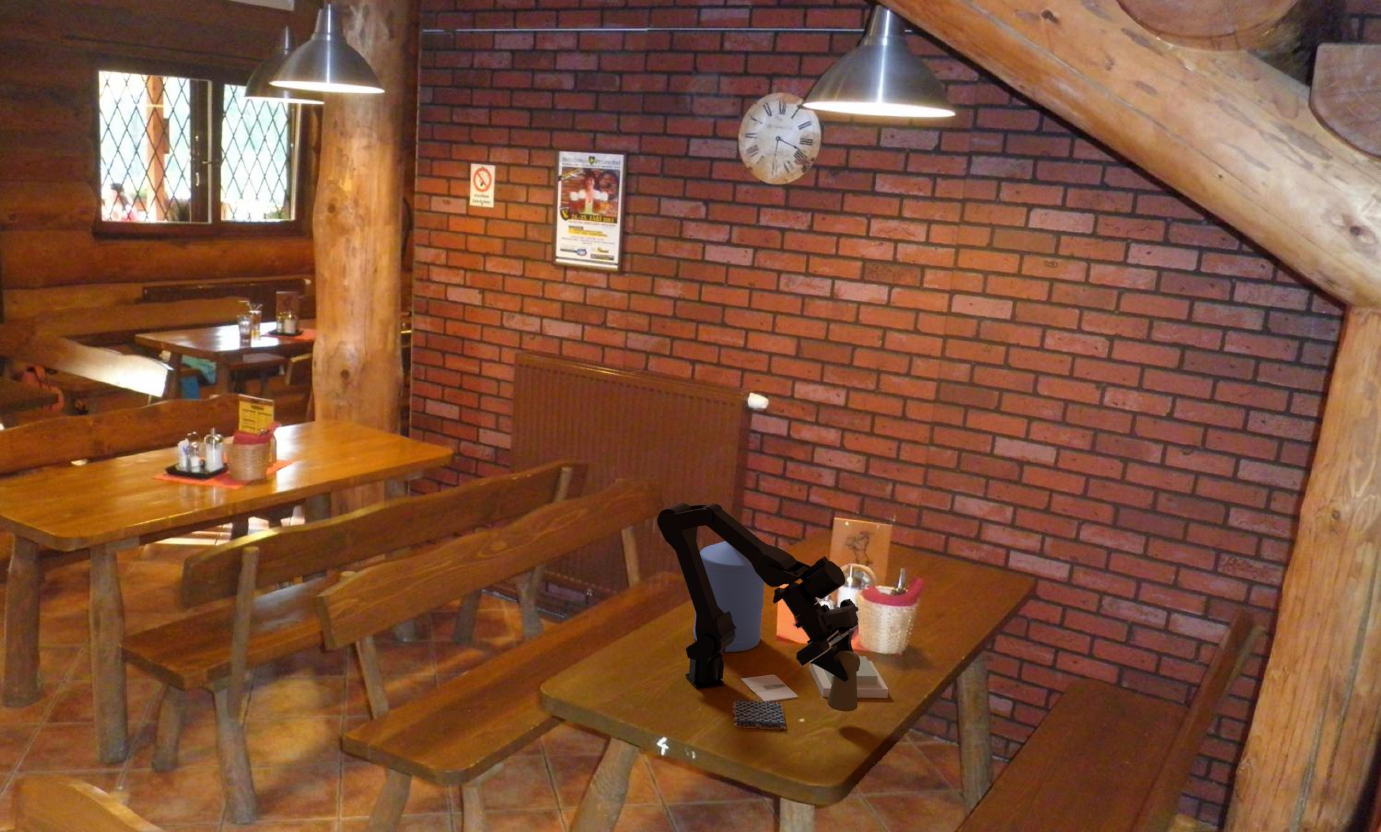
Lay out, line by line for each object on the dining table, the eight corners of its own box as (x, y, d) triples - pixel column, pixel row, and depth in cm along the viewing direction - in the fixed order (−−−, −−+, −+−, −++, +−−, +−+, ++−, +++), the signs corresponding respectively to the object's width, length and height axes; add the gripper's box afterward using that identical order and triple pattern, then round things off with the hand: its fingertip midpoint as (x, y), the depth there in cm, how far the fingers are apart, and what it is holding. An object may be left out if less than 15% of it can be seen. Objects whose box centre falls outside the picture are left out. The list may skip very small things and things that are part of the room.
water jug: (772, 648, 270) (782, 532, 264) (711, 657, 263) (720, 538, 257) (740, 623, 284) (749, 512, 278) (681, 630, 277) (689, 517, 271)
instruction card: (762, 702, 243) (763, 700, 243) (740, 679, 253) (740, 678, 253) (798, 697, 246) (798, 696, 246) (774, 675, 256) (774, 673, 256)
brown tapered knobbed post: (856, 713, 232) (862, 661, 230) (825, 708, 233) (831, 657, 231) (858, 700, 238) (864, 649, 236) (828, 695, 239) (834, 645, 237)
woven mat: (782, 708, 242) (782, 699, 242) (786, 733, 232) (787, 724, 231) (731, 705, 242) (732, 696, 241) (733, 730, 232) (734, 720, 231)
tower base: (822, 696, 247) (824, 679, 247) (809, 668, 261) (810, 651, 260) (887, 697, 249) (889, 680, 248) (870, 669, 263) (872, 652, 262)
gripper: (817, 603, 224) (864, 673, 222) (853, 577, 240) (898, 641, 238) (776, 631, 230) (822, 699, 227) (814, 603, 246) (858, 667, 243)
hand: (852, 675), depth 233 cm, fingers closed on brown tapered knobbed post, 5 cm apart
